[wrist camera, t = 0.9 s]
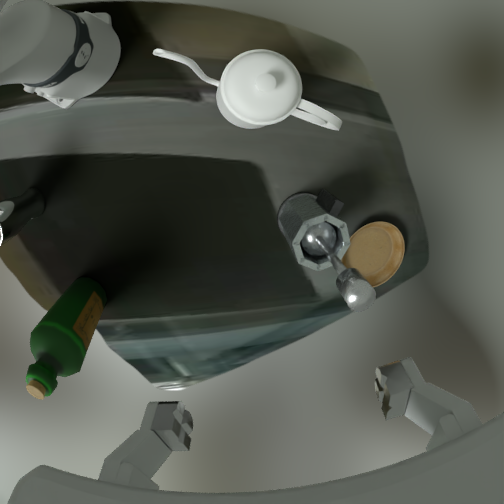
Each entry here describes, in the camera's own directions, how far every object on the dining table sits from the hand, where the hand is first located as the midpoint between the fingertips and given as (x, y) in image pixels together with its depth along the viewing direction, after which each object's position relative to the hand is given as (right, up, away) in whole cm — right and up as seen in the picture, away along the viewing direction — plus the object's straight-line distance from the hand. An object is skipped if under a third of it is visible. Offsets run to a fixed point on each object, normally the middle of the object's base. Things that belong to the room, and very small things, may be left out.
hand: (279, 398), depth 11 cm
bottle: (-35, -3, +45) cm, 57 cm away
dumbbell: (+9, +8, +34) cm, 36 cm away
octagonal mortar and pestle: (+8, +12, +42) cm, 45 cm away
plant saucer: (+23, +6, +47) cm, 53 cm away
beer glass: (-44, +16, +35) cm, 59 cm away
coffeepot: (-2, +31, +33) cm, 45 cm away
